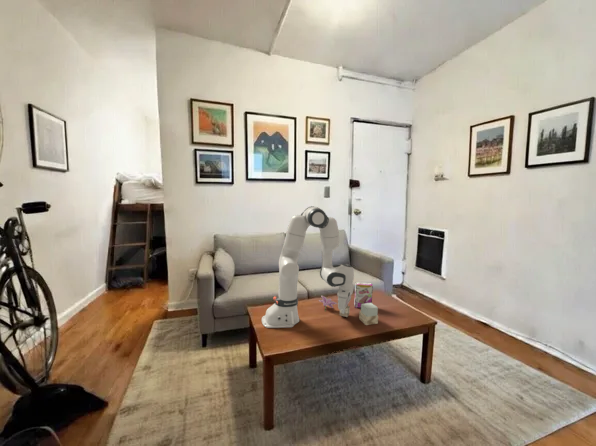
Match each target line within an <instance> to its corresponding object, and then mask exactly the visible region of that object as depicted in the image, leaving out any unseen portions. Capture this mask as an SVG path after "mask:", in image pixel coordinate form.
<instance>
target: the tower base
mask: <svg viewBox="0 0 596 446" xmlns="http://www.w3.org/2000/svg"><path fill="white" fill-rule="evenodd" d="M358 319H359V321H361V322H362V323H363V324H364V325H365V326H369V325H376V324H379V315H378V314H377V316H370V317H366V316H365V315H364V314H363V313H362V312H361V310H360V311H359V313H358Z"/></svg>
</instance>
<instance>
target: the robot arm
mask: <svg viewBox="0 0 596 446" xmlns="http://www.w3.org/2000/svg"><path fill="white" fill-rule="evenodd" d="M311 226H312V227H313V228H318V229H319V234H320V235H319V237H320V246H321V266H320V267H321V268H320V271H319V276H320V278H321V280H323V281H324V282H325V283H326V284H327V285H329V287H334V288H335V287H338V290H337V293H336V294H337V295H336V296H337V308H338V310H339V311H340V310H342V314H345V308H346V306H349V303H350V302H351V299H352V295H353V293H354V279H355V276H354V275H355V271H354V270H355V269H354V267H353V266H352V265H351V264H349V263H341V264H340V265H338V266H337V267H334V265H333V251H335V250H336V249H337V248H338V247H339V245H340V232H339V225H338V222H337V219H336V218H334V217H331V216H328V215H327V214H326V212H325V210H323V209H322V208H320V207H319V206H318V207H317V206H312V205H311V206H307V208H305V210H303V211H302V213H301V214H295V215H293V216H292V217H291V218H290V221H289V223H288V227H287V230H286V232H285V233H286V234H285V238H284V242H283V246H282V248H281V252H280V255H279V259H278V269H279V271H278V272H279V273H278V276H279V277H278V295H277V296H273V301H274V303H273V304H272V305H271V306H269V307H268V308H267V309H266V311H265V315H263V316H262V317H261V323H262V325H263V327H265V328H266V329H280V328H284V329H285V328H293V327H294V326H295V325H297V324H298V323H299V322H300V318H299V312H298V305H299V297H298V282H299V281H298V280H299V272H300V271H299V270H300V269H299V268H300V266H299V264H298V260H299V257H300V254H301V251H302V249H303V247H304V241H305V238H306V233H307V231H308V228H309V227H311Z"/></svg>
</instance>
